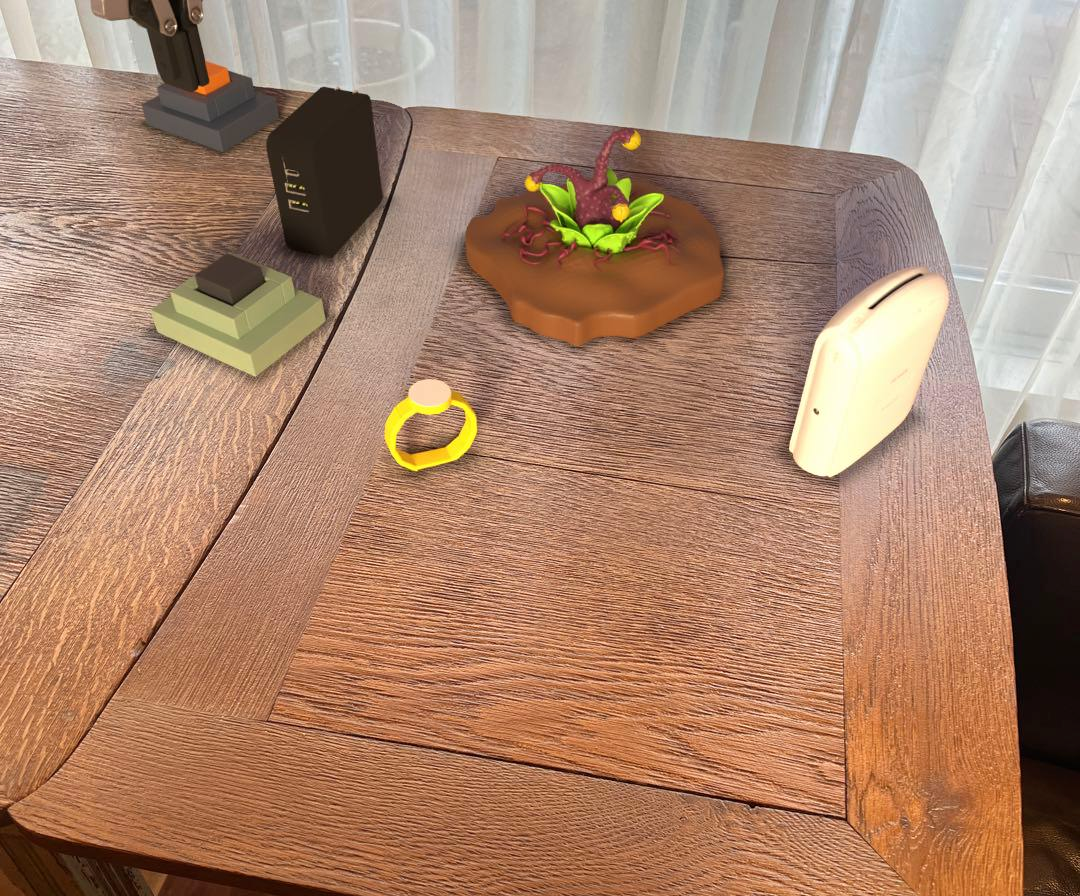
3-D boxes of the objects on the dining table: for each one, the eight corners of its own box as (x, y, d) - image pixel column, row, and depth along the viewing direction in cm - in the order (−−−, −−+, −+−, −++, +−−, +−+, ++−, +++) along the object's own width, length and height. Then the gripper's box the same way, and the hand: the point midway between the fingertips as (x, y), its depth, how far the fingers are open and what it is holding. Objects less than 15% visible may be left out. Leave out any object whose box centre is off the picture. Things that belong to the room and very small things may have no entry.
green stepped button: (157, 333, 79) (142, 289, 76) (230, 282, 83) (219, 238, 80) (255, 378, 75) (244, 334, 72) (326, 322, 80) (318, 278, 77)
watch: (397, 486, 68) (388, 418, 64) (385, 459, 70) (375, 391, 65) (482, 461, 70) (479, 394, 65) (468, 435, 71) (464, 368, 67)
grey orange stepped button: (147, 126, 100) (135, 85, 97) (205, 94, 105) (196, 54, 102) (223, 153, 97) (213, 112, 94) (280, 119, 101) (272, 79, 98)
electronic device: (286, 252, 86) (262, 138, 79) (342, 193, 92) (325, 82, 85) (331, 262, 85) (311, 147, 78) (384, 202, 91) (370, 90, 84)
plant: (766, 299, 82) (793, 168, 74) (546, 367, 76) (548, 233, 68) (641, 182, 94) (651, 57, 85) (443, 233, 88) (433, 105, 80)
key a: (199, 292, 76) (194, 275, 75) (231, 270, 78) (226, 252, 77) (233, 307, 75) (228, 289, 74) (265, 284, 77) (261, 266, 76)
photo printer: (828, 489, 68) (875, 338, 59) (776, 456, 70) (814, 305, 61) (916, 418, 73) (972, 268, 63) (865, 389, 75) (913, 239, 65)
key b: (179, 89, 98) (175, 72, 97) (205, 75, 100) (201, 59, 99) (205, 98, 97) (201, 81, 95) (231, 84, 99) (227, 67, 97)
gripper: (159, -267, 65) (223, 34, 78) (-48, -216, 56) (65, 110, 70) (246, -250, 62) (297, 58, 76) (44, -194, 54) (142, 141, 67)
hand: (186, 83), depth 73 cm, fingers closed
